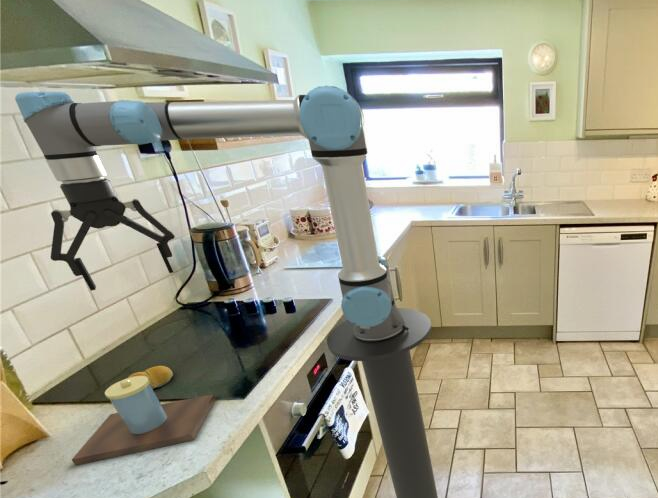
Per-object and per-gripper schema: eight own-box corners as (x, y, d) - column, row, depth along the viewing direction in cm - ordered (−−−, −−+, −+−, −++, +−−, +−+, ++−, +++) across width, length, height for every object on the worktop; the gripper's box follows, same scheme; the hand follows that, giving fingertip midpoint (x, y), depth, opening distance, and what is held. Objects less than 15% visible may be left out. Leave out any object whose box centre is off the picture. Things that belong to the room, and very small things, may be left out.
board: (215, 399, 96) (213, 394, 96) (193, 439, 84) (190, 434, 84) (114, 419, 92) (110, 413, 91) (75, 465, 80) (71, 459, 79)
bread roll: (178, 380, 104) (171, 367, 102) (133, 398, 98) (125, 385, 96) (168, 369, 109) (162, 356, 107) (125, 386, 103) (118, 372, 101)
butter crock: (174, 410, 91) (151, 367, 86) (160, 430, 85) (135, 386, 80) (137, 417, 90) (112, 374, 84) (121, 438, 84) (93, 393, 79)
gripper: (159, 170, 93) (197, 261, 102) (-4, 188, 78) (58, 291, 88) (162, 173, 87) (202, 268, 97) (-12, 192, 73) (55, 301, 83)
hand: (133, 279), depth 93 cm, fingers open, 13 cm apart
